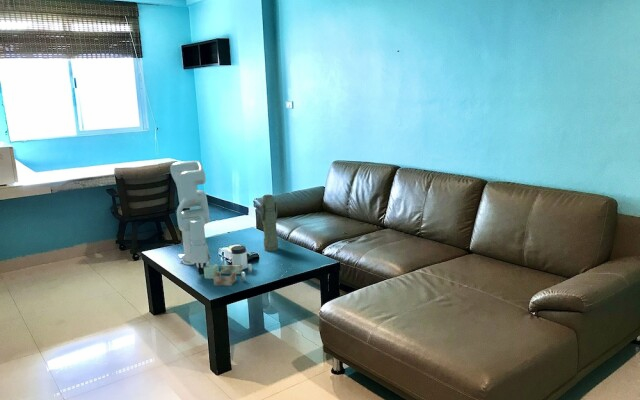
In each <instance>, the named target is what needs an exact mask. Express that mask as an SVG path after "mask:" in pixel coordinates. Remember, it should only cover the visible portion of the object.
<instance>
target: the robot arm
mask: <svg viewBox="0 0 640 400" xmlns="http://www.w3.org/2000/svg"><path fill="white" fill-rule="evenodd" d="M169 170H170V174H171V177H172V179H173V181H174V183H175V185H176V189H177V196H178V203H179V205H178V206H177V209H176V218H177V225H178V229H179V230H180V231H181V235H182V236H181V237H182V243H183V245H182V246H183V254H178V258H179V259H181V260H182V264H183V265H185V266H186V265H187V266H193V265H195V266H196V269H197V271H198V275H201V276H202V275H204V267H205V266H206V265H208V264H211V260H210V259H211V254H210V248H209V246H208V243H207V242H206V234H205V233H206V232H205V225H206V224H209V222H210V220H211V219H210V210H209V205H208V197H207V194H206V192H205V191H204V190H202V189H197V186H198V185H199V186H200V185H201V186H202V185H204V184H205V183H206V180H207V177H206V173H205V169H204V168H203V165H202V163H201V161H200V160H187V161H179V162H178V161H177V162H173V163H171V165H170V169H169ZM196 207H197V208H196ZM189 208H194V209H189ZM183 209H187V210H183Z"/></svg>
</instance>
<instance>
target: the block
mask: <svg viewBox="0 0 640 400" xmlns="http://www.w3.org/2000/svg"><path fill="white" fill-rule="evenodd" d="M219 267H220V266H219V263H217V264H216V263H214V264H213V263H210V264H207V265H205V266H204V274H203V275H204V279H213V277H214V274H213V273H214V272H220V268H219ZM213 280H214V279H213Z"/></svg>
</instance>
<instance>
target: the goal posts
mask: <svg viewBox="0 0 640 400" xmlns="http://www.w3.org/2000/svg"><path fill="white" fill-rule="evenodd" d="M247 265H248V268H247V269H248V274H249V275H250V274H253V266H252V263H247ZM240 275H241V282H242V283H245V282H246V281H247V280H246V279H247V278H246V272H245V271H242V272H241V274H240Z"/></svg>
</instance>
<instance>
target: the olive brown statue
mask: <svg viewBox="0 0 640 400" xmlns="http://www.w3.org/2000/svg"><path fill="white" fill-rule="evenodd" d="M259 210H260V211H259V213H260V214H259V215H260V221H261V222H262V225H263V235H264V236H263V237H264V238H263V247H264V251H265V252H270V253H271V252H276V251H278V250H279V238H278V236H277V235H278V233H277V218H278V204H277V202H276V201H275V198H274V196H273V194H264V195H263V196H262V198H261V204H260V206H259Z"/></svg>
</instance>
